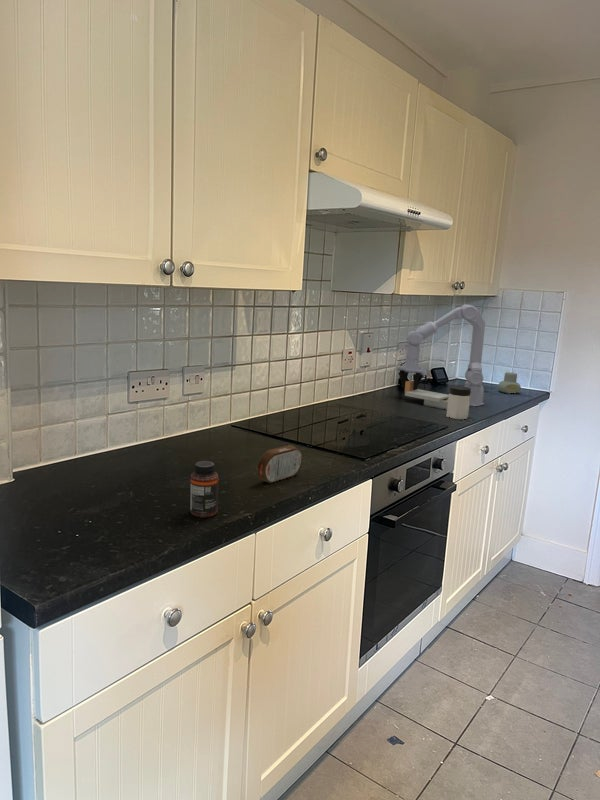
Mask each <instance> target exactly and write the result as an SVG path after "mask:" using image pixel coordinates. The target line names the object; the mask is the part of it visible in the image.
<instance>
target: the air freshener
mask: <svg viewBox="0 0 600 800" xmlns="http://www.w3.org/2000/svg"><path fill="white" fill-rule="evenodd" d="M517 378H518V374H517V373H515V372H509V371H507V372H505V373H504V377H503V380H502V381H500V382H499V383H498V384H497V389H498V390H499V391H500V392H502V393H504V392H505V394H507V393H514V394H517V393H519V392H520V391H521V387H522V386H521V384H520V383H519V382H517V380H518V379H517Z"/></svg>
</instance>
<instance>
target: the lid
mask: <svg viewBox="0 0 600 800" xmlns="http://www.w3.org/2000/svg"><path fill="white" fill-rule="evenodd" d="M413 384H414V380H407V381H406V382H405V388H404V396H405V397H411V398H416V399H420V400H424V399H425V400H430V401H436V402H440V400H442V399H446V398H448V397H449V394H446V393H440V392H435V391H430V390H424V389H419V388H417V390H413Z"/></svg>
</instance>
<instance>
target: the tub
mask: <svg viewBox="0 0 600 800" xmlns="http://www.w3.org/2000/svg"><path fill="white" fill-rule="evenodd" d="M423 406H425V407H429V408H430V407H431V408H434V407H435V408H434V409H440V410H444V409H445V410H446V411H447V406H448V398H446V399H442V400H440V402H436V401H430V400H425V399H423Z"/></svg>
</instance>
